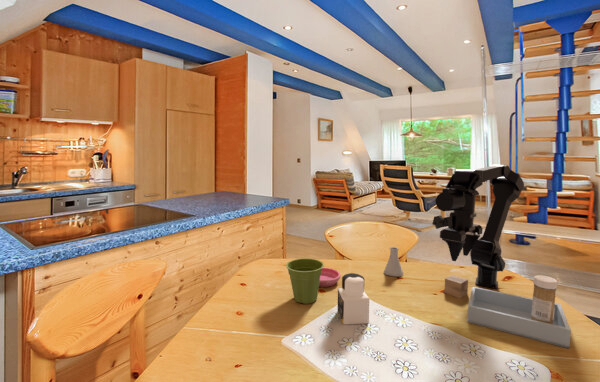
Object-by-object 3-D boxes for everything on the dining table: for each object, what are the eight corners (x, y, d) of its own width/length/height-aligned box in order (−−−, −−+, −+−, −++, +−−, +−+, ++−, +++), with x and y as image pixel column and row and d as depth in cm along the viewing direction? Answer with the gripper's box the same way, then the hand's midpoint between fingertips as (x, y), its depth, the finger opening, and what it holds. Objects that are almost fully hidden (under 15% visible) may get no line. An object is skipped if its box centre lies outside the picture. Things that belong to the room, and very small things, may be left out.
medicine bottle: (337, 311, 86) (337, 271, 85) (361, 310, 87) (362, 270, 85) (342, 325, 79) (343, 281, 78) (369, 323, 80) (370, 280, 78)
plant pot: (304, 287, 102) (304, 255, 101) (331, 298, 94) (331, 264, 93) (278, 298, 94) (277, 264, 93) (305, 312, 86) (305, 274, 84)
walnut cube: (451, 289, 101) (452, 274, 100) (467, 294, 97) (468, 279, 96) (444, 293, 98) (445, 278, 97) (460, 298, 94) (460, 283, 93)
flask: (404, 277, 110) (405, 251, 109) (384, 276, 112) (384, 250, 110) (402, 270, 117) (402, 245, 116) (382, 269, 119) (383, 244, 118)
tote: (471, 300, 92) (472, 286, 92) (559, 320, 81) (560, 304, 81) (467, 321, 80) (468, 306, 80) (569, 348, 69) (571, 330, 68)
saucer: (313, 272, 116) (313, 265, 115) (344, 278, 111) (344, 269, 110) (300, 285, 104) (300, 276, 104) (334, 291, 99) (334, 282, 99)
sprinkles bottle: (556, 331, 75) (561, 279, 73) (546, 336, 73) (551, 283, 71) (535, 322, 79) (540, 273, 77) (525, 326, 77) (530, 276, 75)
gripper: (449, 204, 106) (446, 247, 107) (424, 208, 93) (421, 257, 95) (485, 208, 98) (480, 255, 99) (462, 213, 85) (458, 266, 87)
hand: (459, 258), depth 95 cm, fingers open, 9 cm apart
